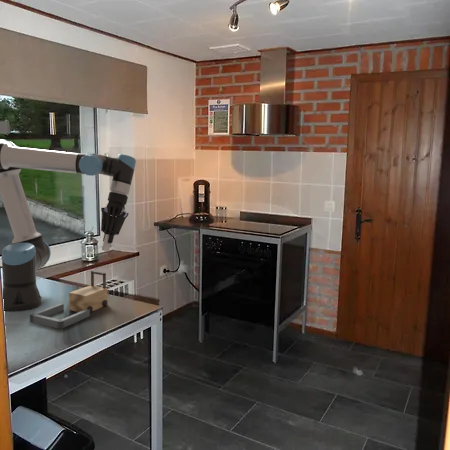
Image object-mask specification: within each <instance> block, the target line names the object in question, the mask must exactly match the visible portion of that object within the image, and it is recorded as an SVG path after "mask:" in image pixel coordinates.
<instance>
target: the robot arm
mask: <svg viewBox="0 0 450 450" xmlns="http://www.w3.org/2000/svg"><path fill="white" fill-rule="evenodd" d="M136 162H137V160H136V158H135V157H133V156H131V155H129V154H128V155H127V154H123V153H120V154H119V153H118V155H117V157H112V156H107V155H103V154H98V153H96V152H87V153H79V152H78V153H77V152H70V151H67V152H66V151H59V150H49V149H40V148H31V147H20V146H17V145H16V144H15V143H13V142H12V141H10V140H7V139H4V138H0V196H1V201H2V204H3V206H4V209H5V212H6V213H5V214H6V216H7V219H8V222H9V225H10V228H11V231H12V234H13V240H12V241H11V244H7V245H6V246H4V247H3V248H2V251H1V268H2V289H3V299H4V309H5V312H25V311H30V310H32V309H35V308H38V307H39V306H41V305H42V297H41V294H40V291H39V288H38V286H37V271H38V270H39V269H41V268H43V267H45V266H46V264H47V263H48V262H49V260H50V258H51V253H52V252H51V247H50V246H49V244H48V243H47V242H46V241H44V237H43V235H42V233H40V232H39V231H37V229H36V226H35V222H34V219H33V216H32V214H31V213H32V212H31V210H30V208H29V207H30V206H29V203H28V200H27V197H26V194H25V191H24V188H23V185H22V182H21V178H20V173H21V171H22V169H27V170H38V171H39V170H40V171H47V172H48V171H49V172H50V171H51V172H59V173H69V174H70V173H71V174H80V175H86V176H93V177H94V176H96V175H103V176H107V177H108V176H109V177H112V181H111V183H110V184H111V185H110V186H109V187H110V188H109V193H108V196H107V201H108V203H107V204H106V206H105V207H101V208H100V209H101V223H100V224H101V226H100V229H101V230H100V231H101V232H102V233H104V234H103V238H102V242H103V243H102V247H101V250H102V251H104V252H110V249H111V246H112V244H113V241H114V238H115V236H119V234H120V232H121V230H122V227H123V225H124V223H125V221H126V218H127V217H129V212H127V211H126V207H125V206H126V205H127V203H128V197H129V196H128V195H129V194H130V189H131V185H132V182H133V181H132V180H133V177H134V173H135V171H136V170H135V167H136V164H137V163H136Z"/></svg>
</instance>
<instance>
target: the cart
mask: <svg viewBox="0 0 450 450" xmlns="http://www.w3.org/2000/svg"><path fill="white" fill-rule="evenodd" d="M95 275H99V276H102V286H97V285H95ZM106 281H107V272H106V273H105V272H100V271H95V270H91V271H90V284H89V285H88V286H84V287H81V288H79V289H75V290H73V291H70V292H68V293H69V295H68V296H69V311H73V312H76V313H78V312H81V311H83V310H85V309H89V310H90V314H91V313H92V312H94V311H97V310H99V309H101V308H103V307H107V306H108V287H107V282H106Z"/></svg>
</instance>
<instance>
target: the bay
mask: <svg viewBox="0 0 450 450" xmlns="http://www.w3.org/2000/svg"><path fill="white" fill-rule="evenodd" d="M64 307H65V305H64V303H61V302H60V303H58V304H55V305H52V306H50V307H47V308H44V309H42V310H38V311H36V312H34V313H31V314H29V322H30V323H35V324H39V325H43V326H46V327H50V328H55V329H58V330H62V329H64V328H67V327H69V326H71V325H73V324H75V323H78V322H79V321H82V320H85V319H87V318H89V317H90V316H91V313H90V310H89V309H85V310H83V311H81V312H76V313H74V314H72V315H69V316H66V317H64V318H61V319H59V318H53V317H51V316H53V315H56V314H58V313H60V312H63V311H64V309H65V308H64Z"/></svg>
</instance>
